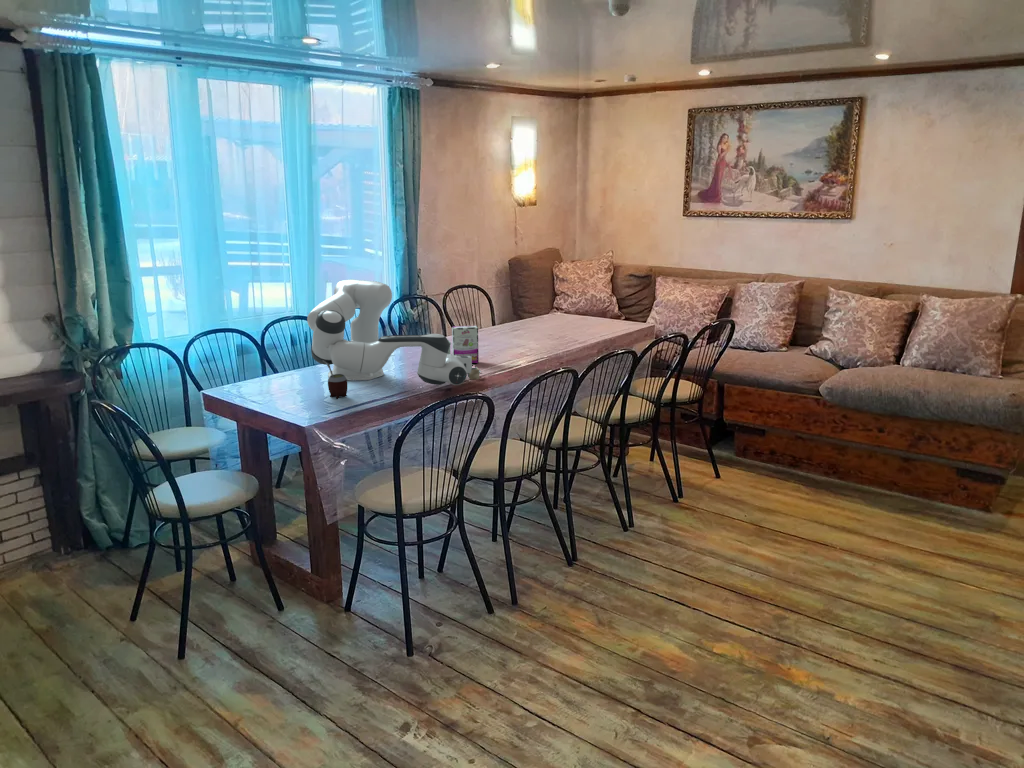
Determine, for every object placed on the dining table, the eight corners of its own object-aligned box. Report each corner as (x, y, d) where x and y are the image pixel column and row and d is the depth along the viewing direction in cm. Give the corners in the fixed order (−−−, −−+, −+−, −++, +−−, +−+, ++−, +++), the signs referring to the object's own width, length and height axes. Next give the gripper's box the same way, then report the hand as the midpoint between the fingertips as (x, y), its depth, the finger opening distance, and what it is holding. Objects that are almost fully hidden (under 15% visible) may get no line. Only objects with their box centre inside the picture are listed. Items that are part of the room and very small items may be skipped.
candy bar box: (477, 361, 341) (477, 325, 336) (478, 364, 336) (478, 327, 332) (452, 362, 339) (451, 325, 334) (453, 365, 334) (453, 328, 330)
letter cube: (469, 379, 310) (469, 369, 309) (467, 377, 314) (467, 367, 313) (479, 379, 311) (479, 369, 310) (477, 376, 315) (477, 367, 314)
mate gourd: (349, 393, 288) (346, 354, 283) (346, 399, 280) (343, 360, 276) (329, 394, 287) (326, 355, 283) (325, 400, 280) (322, 360, 276)
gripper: (423, 375, 295) (417, 367, 308) (475, 372, 301) (467, 364, 313) (423, 359, 294) (417, 351, 306) (475, 357, 299) (467, 349, 312)
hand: (443, 358), depth 310 cm, fingers open, 8 cm apart
